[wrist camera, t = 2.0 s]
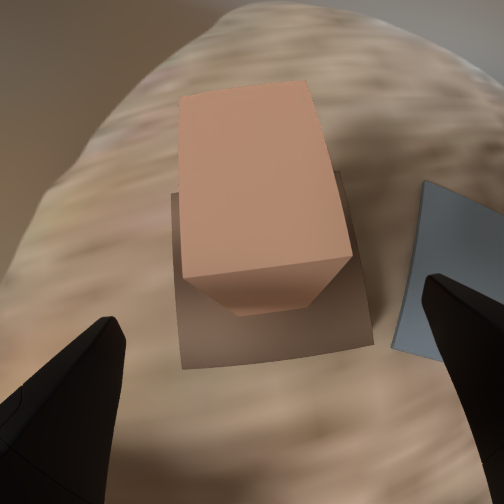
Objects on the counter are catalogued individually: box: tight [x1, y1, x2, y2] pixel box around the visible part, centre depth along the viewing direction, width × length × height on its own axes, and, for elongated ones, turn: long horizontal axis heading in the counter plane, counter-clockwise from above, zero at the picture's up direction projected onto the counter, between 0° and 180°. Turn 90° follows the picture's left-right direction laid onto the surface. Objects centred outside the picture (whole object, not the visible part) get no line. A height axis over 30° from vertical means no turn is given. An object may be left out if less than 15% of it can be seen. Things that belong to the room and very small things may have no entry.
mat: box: [391, 180, 504, 362], centre depth 18 cm, size 12×10×1 cm
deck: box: [171, 171, 374, 370], centre depth 18 cm, size 10×10×3 cm
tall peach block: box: [178, 80, 353, 316], centre depth 12 cm, size 5×4×10 cm
